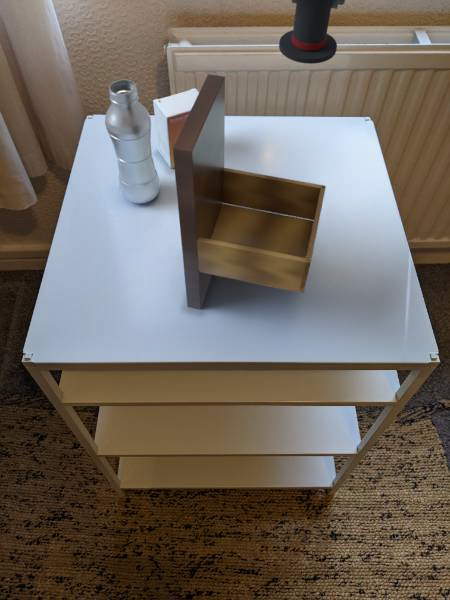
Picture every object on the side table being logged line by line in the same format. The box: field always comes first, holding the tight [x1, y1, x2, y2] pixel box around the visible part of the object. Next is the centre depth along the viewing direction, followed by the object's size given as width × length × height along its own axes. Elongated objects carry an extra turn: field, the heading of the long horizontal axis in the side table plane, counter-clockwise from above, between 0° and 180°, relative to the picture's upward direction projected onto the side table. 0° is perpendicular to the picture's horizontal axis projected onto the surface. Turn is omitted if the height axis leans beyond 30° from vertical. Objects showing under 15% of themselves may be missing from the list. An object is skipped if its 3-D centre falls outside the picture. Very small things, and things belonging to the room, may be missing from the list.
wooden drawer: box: [173, 73, 327, 310], centre depth 63 cm, size 16×13×28 cm
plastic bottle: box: [104, 78, 161, 204], centre depth 77 cm, size 6×7×20 cm
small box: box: [152, 87, 200, 169], centre depth 87 cm, size 8×6×10 cm
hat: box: [278, 0, 338, 65], centre depth 58 cm, size 7×7×8 cm
